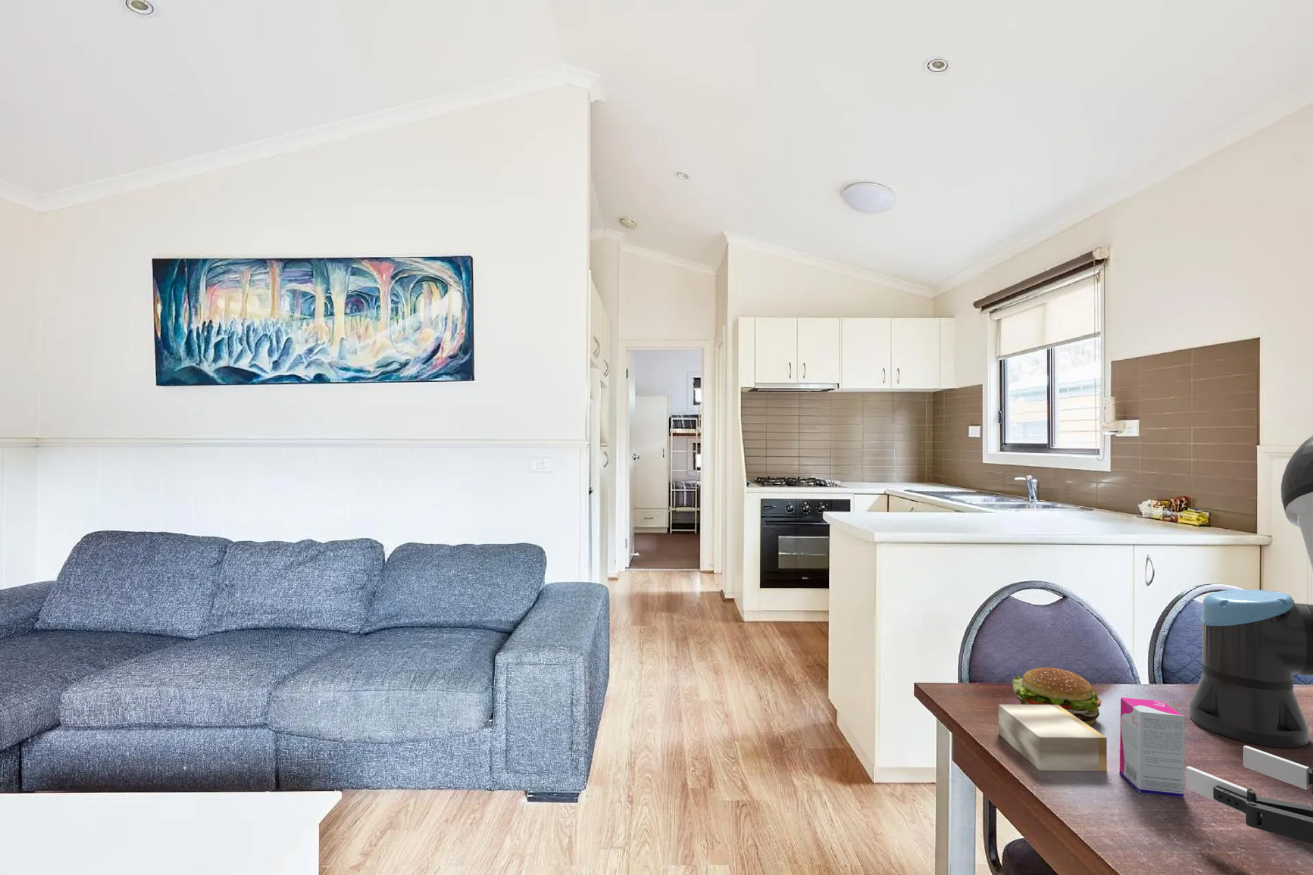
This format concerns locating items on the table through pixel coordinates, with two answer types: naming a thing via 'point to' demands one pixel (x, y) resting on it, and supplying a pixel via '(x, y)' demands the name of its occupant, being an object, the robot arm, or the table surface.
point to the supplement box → (1152, 747)
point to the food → (1058, 692)
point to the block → (1053, 738)
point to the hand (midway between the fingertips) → (1216, 765)
